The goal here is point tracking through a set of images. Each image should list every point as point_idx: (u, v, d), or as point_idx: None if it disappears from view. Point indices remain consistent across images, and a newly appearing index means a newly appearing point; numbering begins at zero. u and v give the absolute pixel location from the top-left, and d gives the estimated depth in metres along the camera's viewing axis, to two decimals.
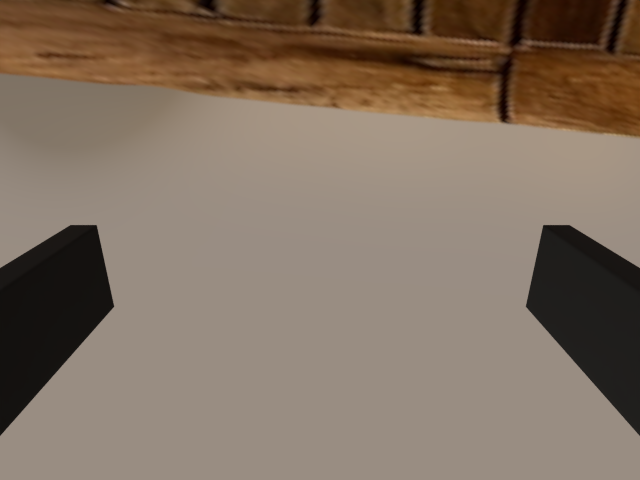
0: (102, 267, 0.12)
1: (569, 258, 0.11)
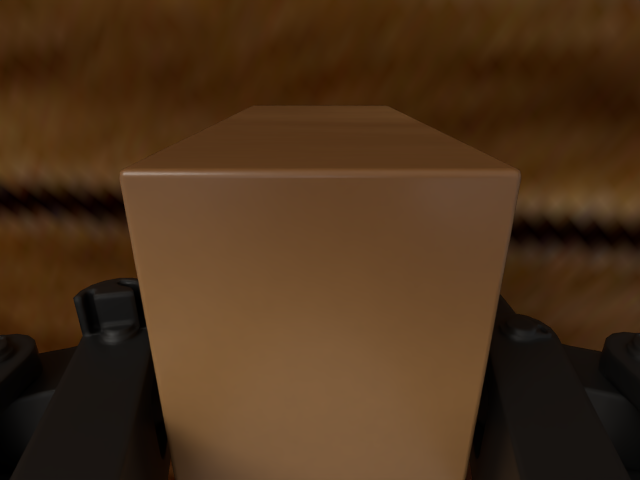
0: None
1: None
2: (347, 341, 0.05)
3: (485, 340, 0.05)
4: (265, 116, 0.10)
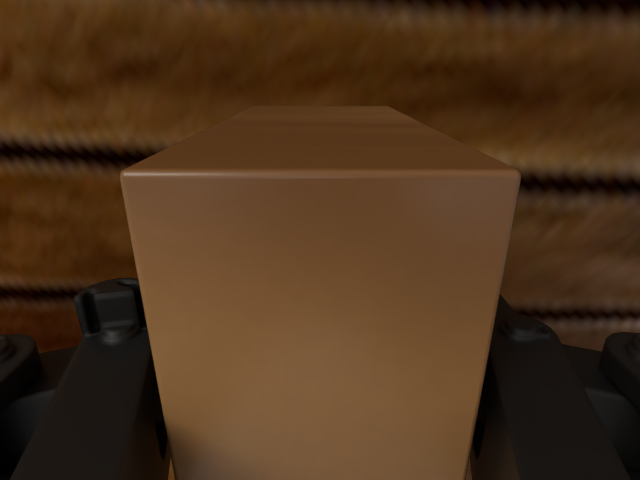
0: None
1: None
2: (348, 341, 0.05)
3: (485, 340, 0.05)
4: (265, 116, 0.10)
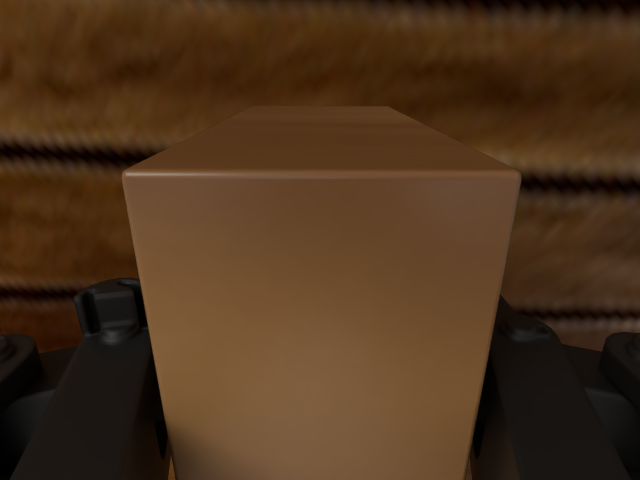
0: None
1: None
2: (348, 340, 0.05)
3: (485, 340, 0.05)
4: (265, 116, 0.10)
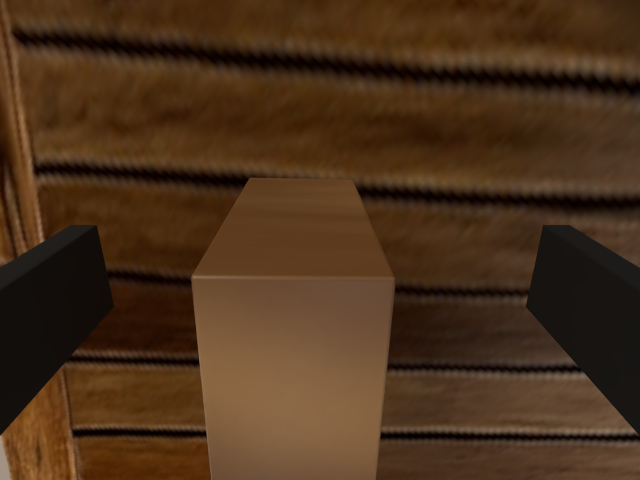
0: (102, 267, 0.12)
1: (569, 258, 0.11)
2: (308, 361, 0.10)
3: (384, 361, 0.10)
4: (261, 200, 0.14)
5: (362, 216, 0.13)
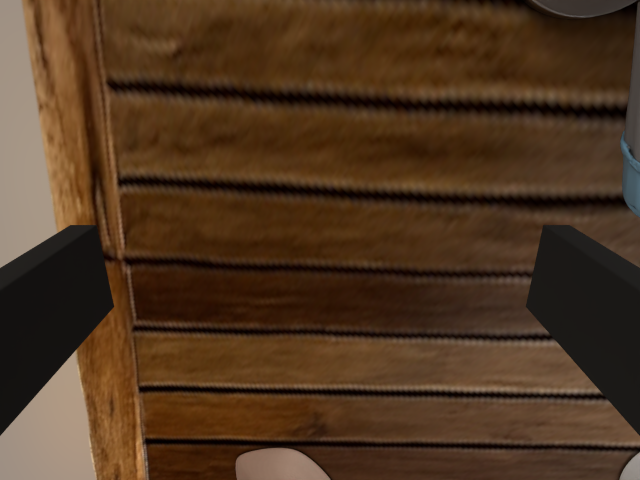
0: (102, 267, 0.12)
1: (569, 258, 0.11)
2: None
3: None
4: None
5: None
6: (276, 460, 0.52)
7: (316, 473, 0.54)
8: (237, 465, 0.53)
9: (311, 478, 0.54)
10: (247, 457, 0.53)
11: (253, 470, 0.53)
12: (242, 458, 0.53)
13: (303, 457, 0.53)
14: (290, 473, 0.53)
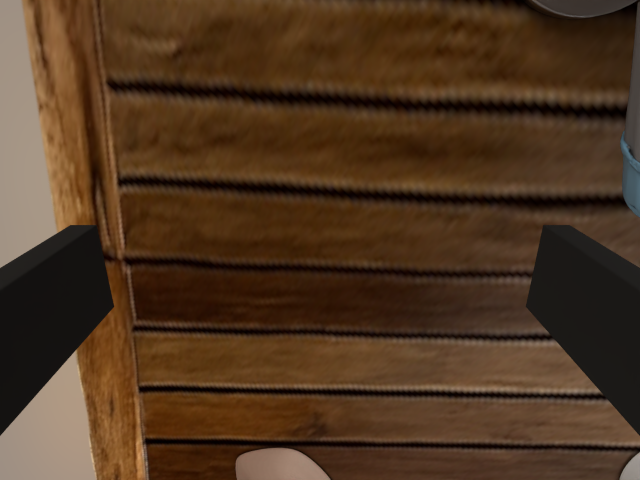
0: (102, 267, 0.12)
1: (569, 258, 0.11)
2: None
3: None
4: None
5: None
6: (276, 460, 0.52)
7: (316, 473, 0.54)
8: (237, 465, 0.53)
9: (311, 478, 0.54)
10: (247, 457, 0.53)
11: (253, 470, 0.53)
12: (242, 458, 0.53)
13: (303, 457, 0.53)
14: (290, 473, 0.53)
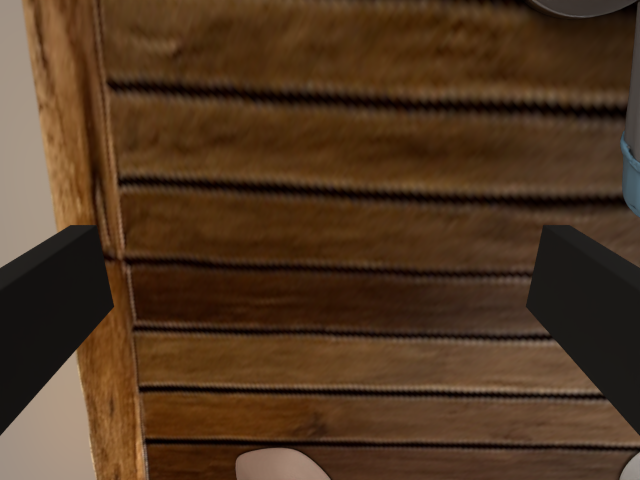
0: (102, 267, 0.12)
1: (569, 258, 0.11)
2: None
3: None
4: None
5: None
6: (276, 460, 0.52)
7: (316, 473, 0.54)
8: (237, 465, 0.53)
9: (311, 478, 0.54)
10: (247, 457, 0.53)
11: (253, 470, 0.53)
12: (242, 458, 0.53)
13: (303, 457, 0.53)
14: (290, 473, 0.53)
